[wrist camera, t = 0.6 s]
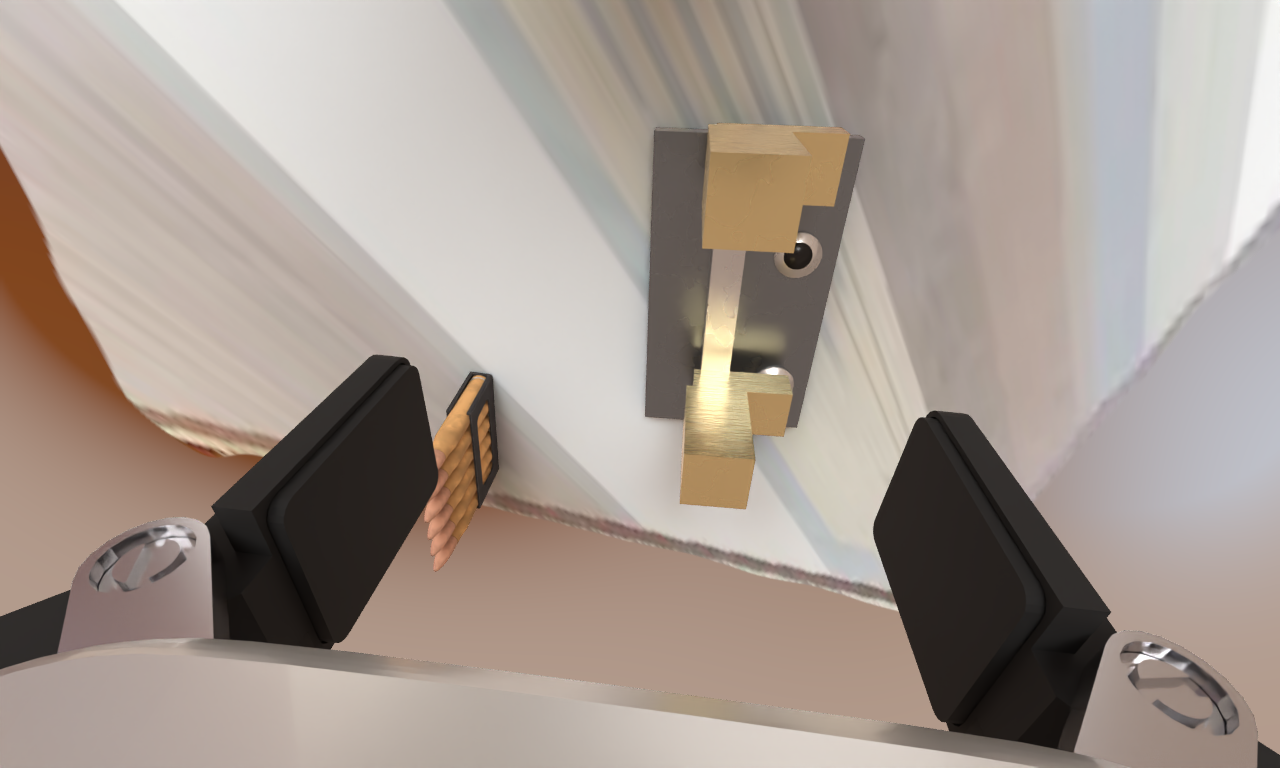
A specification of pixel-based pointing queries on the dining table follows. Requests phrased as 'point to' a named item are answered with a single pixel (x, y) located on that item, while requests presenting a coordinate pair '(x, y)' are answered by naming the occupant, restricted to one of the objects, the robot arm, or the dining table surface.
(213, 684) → the robot arm
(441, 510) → the ammunition clip
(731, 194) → the block
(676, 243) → the hole plate
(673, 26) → the dining table surface
